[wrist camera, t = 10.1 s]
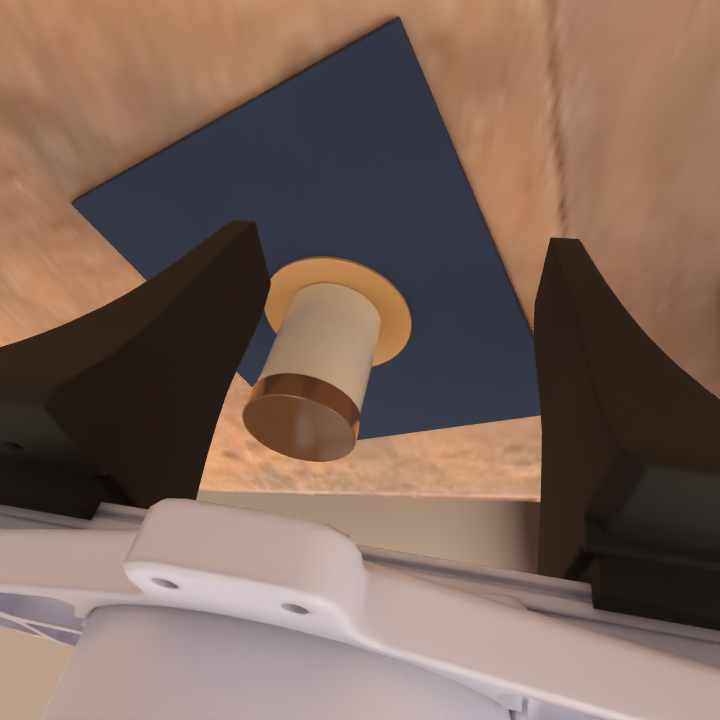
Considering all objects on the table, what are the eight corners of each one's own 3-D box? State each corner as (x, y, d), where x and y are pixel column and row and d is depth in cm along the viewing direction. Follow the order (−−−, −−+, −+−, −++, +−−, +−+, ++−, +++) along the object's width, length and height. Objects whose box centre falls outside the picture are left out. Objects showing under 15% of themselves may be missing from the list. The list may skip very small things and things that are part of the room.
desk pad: (562, 407, 30) (563, 415, 30) (311, 441, 39) (309, 448, 39) (399, 15, 17) (396, 21, 17) (74, 199, 26) (68, 205, 26)
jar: (400, 340, 28) (376, 456, 24) (320, 359, 31) (285, 466, 26) (352, 268, 25) (315, 385, 20) (268, 295, 28) (218, 405, 23)
